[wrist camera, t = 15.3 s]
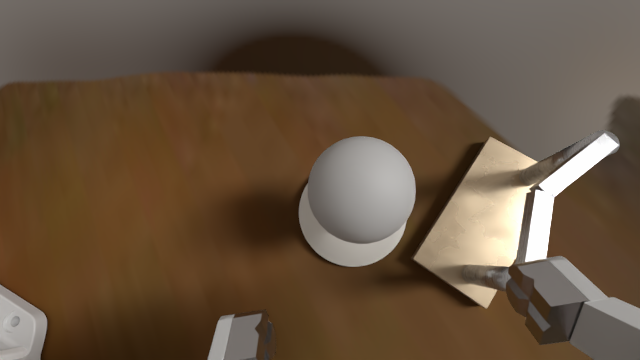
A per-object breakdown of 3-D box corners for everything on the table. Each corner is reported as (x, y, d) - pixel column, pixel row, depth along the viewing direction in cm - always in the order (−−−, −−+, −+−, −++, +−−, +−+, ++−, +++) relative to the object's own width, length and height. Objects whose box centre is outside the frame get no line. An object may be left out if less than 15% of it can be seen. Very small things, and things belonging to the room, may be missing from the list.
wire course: (410, 258, 24) (442, 259, 15) (484, 142, 26) (551, 83, 17) (479, 306, 23) (558, 336, 14) (552, 179, 24) (663, 135, 16)
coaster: (279, 224, 26) (278, 224, 25) (338, 143, 27) (338, 141, 27) (367, 289, 24) (367, 290, 23) (426, 198, 25) (427, 196, 25)
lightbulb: (411, 202, 24) (453, 161, 14) (368, 263, 24) (376, 269, 13) (351, 161, 26) (347, 96, 15) (308, 217, 25) (273, 189, 15)
